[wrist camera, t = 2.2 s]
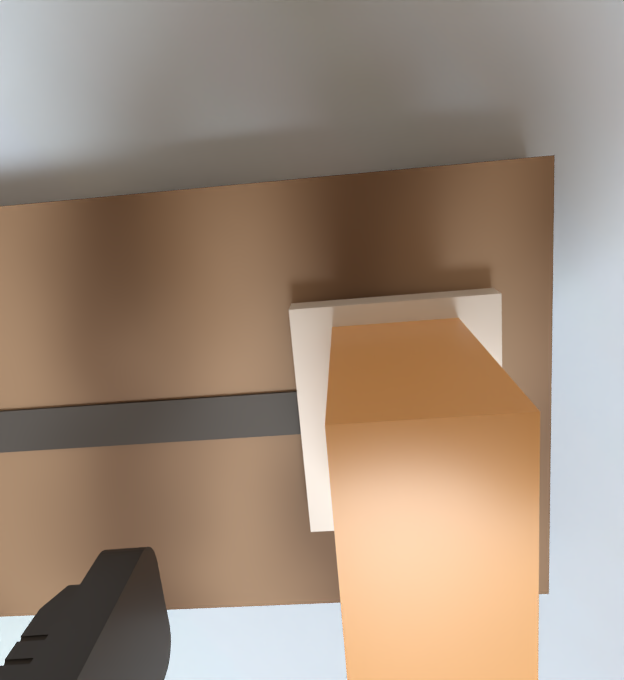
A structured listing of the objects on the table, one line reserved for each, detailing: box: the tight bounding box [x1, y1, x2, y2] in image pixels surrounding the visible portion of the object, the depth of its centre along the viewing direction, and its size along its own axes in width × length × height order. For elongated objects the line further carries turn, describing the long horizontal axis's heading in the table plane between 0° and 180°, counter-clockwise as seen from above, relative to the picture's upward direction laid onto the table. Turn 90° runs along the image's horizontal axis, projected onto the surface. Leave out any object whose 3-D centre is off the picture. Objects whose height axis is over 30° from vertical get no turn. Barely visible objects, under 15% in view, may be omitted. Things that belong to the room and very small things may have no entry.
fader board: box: [0, 155, 554, 617], centre depth 17 cm, size 22×12×2 cm, turn 95°
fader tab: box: [289, 288, 540, 680], centre depth 12 cm, size 5×6×7 cm
